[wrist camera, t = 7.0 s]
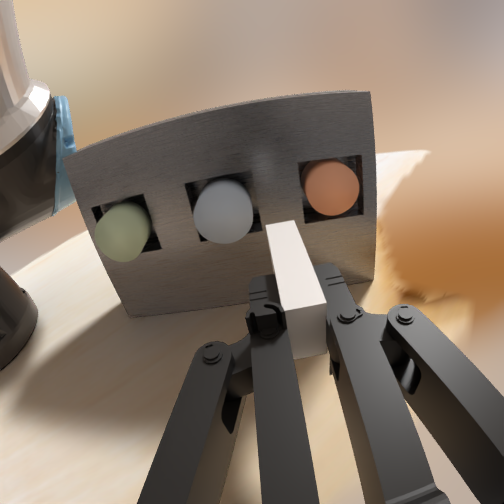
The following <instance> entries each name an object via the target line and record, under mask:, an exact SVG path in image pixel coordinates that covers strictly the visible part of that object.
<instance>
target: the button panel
mask: <svg viewBox="0 0 504 504" xmlns="http://www.w3.org/2000/svg"><path fill="white" fill-rule="evenodd" d="M327 158H336V159H338V160H340V161H341V162H342V163H343V164H345V165H346V166H347V167H348V168H350V169H351V170H352V171H353V172H354V174H355V175H356V177H357V179H358V182H359V194H358V197H357V199H356V201H355V203H354V204H353V206H352V207H351V208H350V209H348V210H347V211H345V212H344V213H341V214H339V215H324V214H321V213H319V212H318V211H316V210H315V209H314V208H313V207H312V206H311V204H310V203H309V201H308V199H307V197H306V195H305V194H304V192H303V190H302V187H301V174H302V172H303V169H304V168H305V166H306V165H307V164H308V163H309V162H310V161H312V160H319V159H327ZM62 160H63V163H64V166H65V169H66V172H67V175H68V178H69V181H70V184H71V187H72V190H73V193H74V195H75V198H76V201H77V204H78V206H79V209H80V211H81V214H82V216H83V219H84V221H85V224H86V226H87V229H88V231H89V234H90V236H91V238H92V241H93V243H94V245H95V248H96V250H97V252H98V254H99V257H100V259H101V261H102V263H103V265H104V267H105V269H106V272H107V274H108V276H109V278H110V280H111V282H112V284H113V286H114V288H115V290H116V292H117V294H118V296H119V298H120V300H121V302H122V303H123V305H124V307H125V309H126V311H127V313H128V315H129V317H130V318H133V317H142V316H151V315H160V314H168V313H177V312H185V311H192V310H200V309H207V308H214V307H221V306H228V305H235V304H242V303H248V302H250V300H249V286H248V285H249V283H250V281H251V280H252V278H253V277H258V276H264V275H269V274H274V272H273V267H272V261H271V255H270V249H269V243H268V237H267V231H266V226H265V225H269V224H274V223H280V222H286V221H292V220H294V221H295V224H296V226H297V229H298V231H299V234H300V236H301V238H302V241H303V243H304V246H305V248H306V251H307V253H308V256H309V258H310V261H311V263H312V266H314V265H320V264H325V263H332V264H333V265H335V266H336V267H337V268H338V269H339V271H340V273H341V275H342V277H343V279H344V281H345V283H346V285H350V284H355V283H360V282H365V281H370V280H374V268H375V251H376V218H377V189H376V157H375V139H374V126H373V114H372V104H371V95H370V92H369V91H355V90H341V91H340V90H339V91H325V92H313V93H303V94H294V95H286V96H278V97H271V98H264V99H258V100H251V101H246V102H241V103H235V104H230V105H225V106H220V107H215V108H210V109H206V110H202V111H197V112H193V113H189V114H185V115H181V116H177V117H174V118H170V119H166V120H163V121H159V122H156V123H152V124H149V125H145V126H142V127H139V128H136V129H133V130H130V131H127V132H124V133H121V134H118V135H115V136H112V137H109V138H106V139H104V140H101V141H99V142H96V143H93V144H90V145H88V146H86V147H84V148H82V149H80V150H78V151H77V152H74V153H72V154H70V155H68V156H66V157H64V158H62ZM221 178H229V179H233V180H236V181H238V182H240V183H241V184H243V185H244V186H245V187H246V189H247V190H248V191H249V193H250V196H251V200H252V210H253V222H252V226H251V228H250V230H249V231H248V233H247V234H246V235H245V236H244V237H243V238H241V239H240V240H238V241H236V242H233V243H228V244H219V243H214V242H212V241H209V240H207V239H206V238H204V237H203V236H202V235H201V234H200V233H199V231H198V230H197V228H196V226H195V224H194V219H193V214H194V209H195V206H196V203H197V200H198V198H199V195H200V193H201V191H202V189H203V188H204V187H205V186H206V185H207V184H208V183H210V182H211V181H213V180H216V179H221ZM122 201H130V202H134V203H136V204H138V205H140V206H141V207H143V208H144V209H145V210H146V212H147V213H148V215H149V217H150V219H151V223H152V230H151V234H150V236H149V238H148V240H147V242H146V244H145V245H144V247H143V249H142V251H141V253H140V254H139V256H138V257H137V258H135V259H134V260H132V261H128V262H118V261H115V260H112V259H110V258H109V257H107V256H106V255H105V254H103V253H102V251H101V250H100V249H99V247H98V245H97V243H96V240H95V228H96V225H97V223H98V222H99V220H100V219H101V218H102V217H103V216H104V215H105V214H106V213H107V212H108V211H109V209H110V208H111V207H112V206H113V205H115V204H116V203H118V202H122Z"/></svg>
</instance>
